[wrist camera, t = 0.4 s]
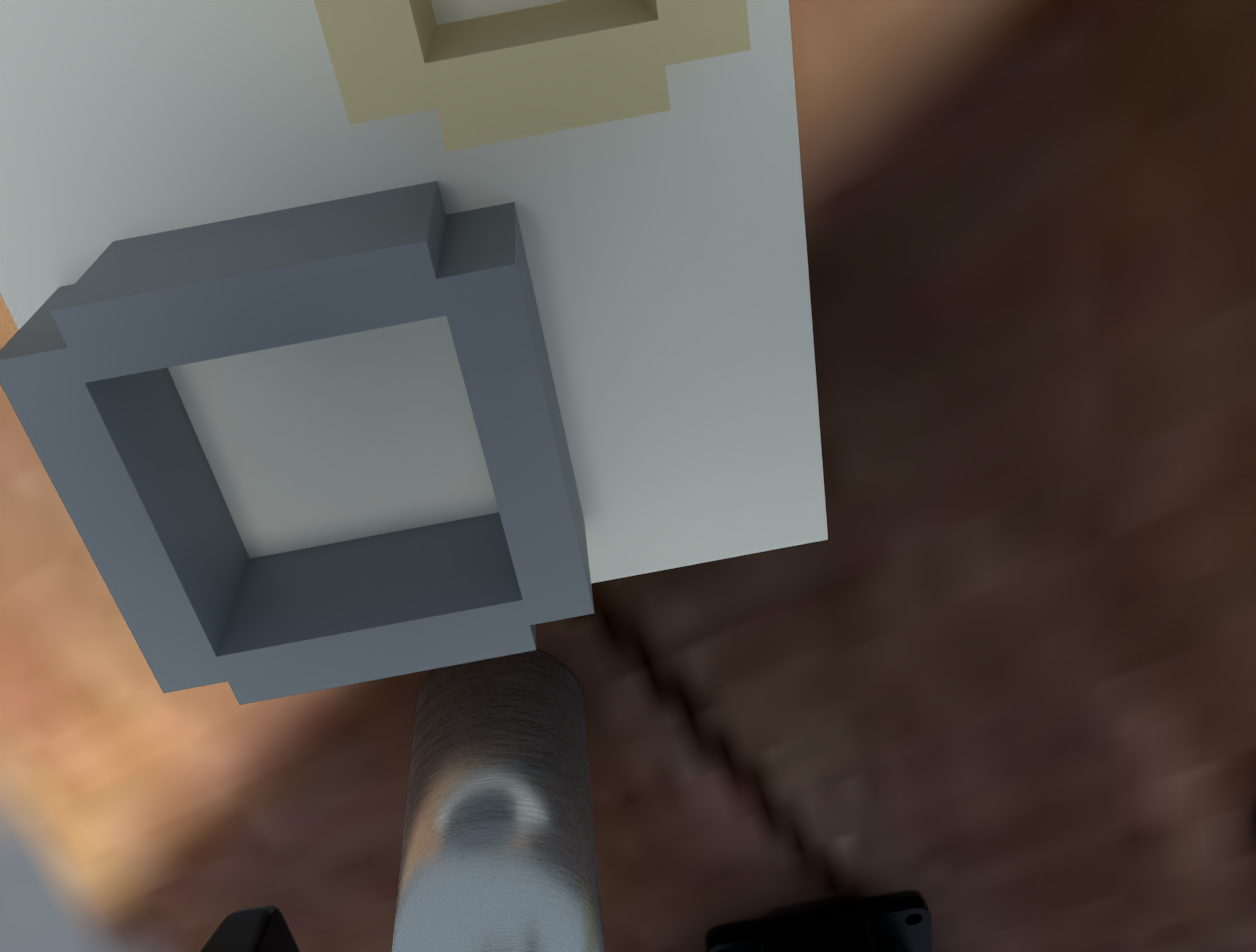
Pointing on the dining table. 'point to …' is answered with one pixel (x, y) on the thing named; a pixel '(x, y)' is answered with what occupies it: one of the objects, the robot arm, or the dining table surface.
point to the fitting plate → (403, 314)
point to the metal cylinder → (499, 814)
